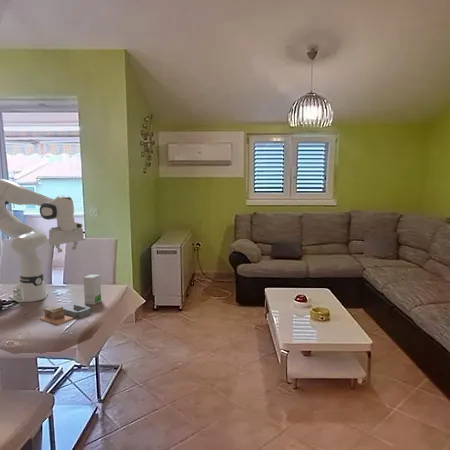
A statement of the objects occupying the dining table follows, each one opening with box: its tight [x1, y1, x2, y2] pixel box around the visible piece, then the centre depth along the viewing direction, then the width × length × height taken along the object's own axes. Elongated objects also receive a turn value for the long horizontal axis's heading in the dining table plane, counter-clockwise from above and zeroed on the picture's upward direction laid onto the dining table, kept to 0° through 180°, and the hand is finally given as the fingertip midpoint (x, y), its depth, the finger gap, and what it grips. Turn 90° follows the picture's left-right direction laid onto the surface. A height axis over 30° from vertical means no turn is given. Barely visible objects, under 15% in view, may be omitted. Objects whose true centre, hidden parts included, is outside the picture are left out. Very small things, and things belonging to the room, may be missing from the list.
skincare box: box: [83, 274, 102, 306], centre depth 236 cm, size 8×7×16 cm
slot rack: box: [63, 303, 93, 319], centre depth 218 cm, size 12×9×3 cm
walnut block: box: [43, 305, 66, 321], centre depth 211 cm, size 10×5×6 cm, turn 53°
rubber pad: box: [39, 315, 74, 326], centre depth 210 cm, size 14×9×1 cm, turn 59°
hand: (67, 250), depth 227 cm, fingers open, 8 cm apart
